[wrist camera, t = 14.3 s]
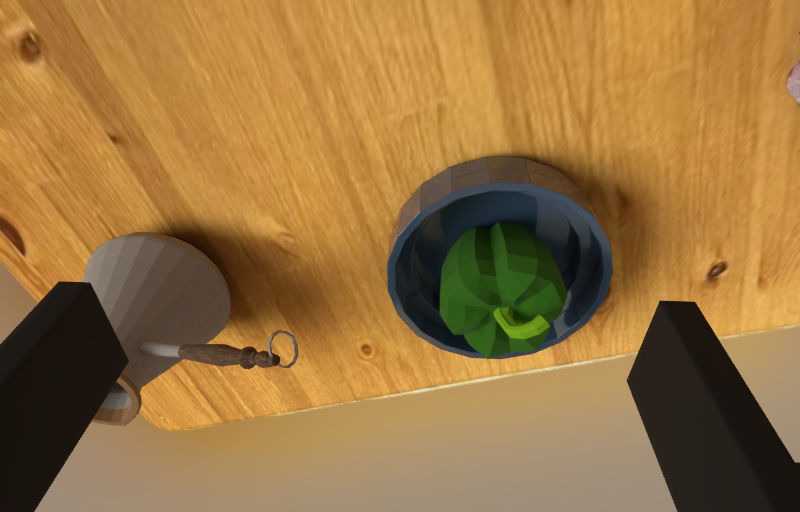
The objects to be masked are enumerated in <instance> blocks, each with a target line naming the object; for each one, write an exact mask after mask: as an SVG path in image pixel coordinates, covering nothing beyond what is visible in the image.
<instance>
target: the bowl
mask: <svg viewBox="0 0 800 512" xmlns="http://www.w3.org/2000/svg"><path fill="white" fill-rule="evenodd" d="M497 222H502V223H519V224H521V225H522V226H524V227H525V228H527V229H528V230H530V231H531V232H533V233H534V234H535V235H536V236H537V237H538V238H539V239H540V240H541V241H542V242H543V243H544V244H545V246H546V247H547V248H548V249H549V250H550V252H551V254H552V256H553V259H554V261H555V263H556V265H557V267H558V269H559V271H560V274H561V276H562V279H563V281H564V284H565V287H566V290H567V293H568V295H567V298H566V301H565V304H564V307H563V309H562V311H561V313H560V315H559V317H558V319H556V320H554V321H552V322H551V327H550V331H549V334H548V335H547V337H546V338H545V339H544V341H543V342H542V344H541V345H540V346H539V348H538V349H537V351H524V352H511V353H507V354H503V355H500V356H496V357H493V358H489V359H501V358H502V359H505V358H511V357H517V356H523V355H529V354H532V353H533V354H534V353H536V352H538V351H541V350H543V349H546V348H548V347H551V346H553V345H555V344H558V343H560V342H563V341H564V340H565V339H567V338H568V337H569V336H571V335H572V334H573V333H575V332H576V331H577V330H579V329H580V328H582V327H583V326H584V325H586V324H587V323H588V321H589V320H590V319H591V317H592V316H593V315H594V313H595V312H596V311H597V309H598V308H599V307H600V305H601V304H602V303H603V301H604V299H605V297H606V294H607V291H608V288H609V284H610V281H611V278H612V275H613V263H612V254H611V244H610V241H609V239H608V237H607V235H606V233H605V231H604V229H603V228H602V225H601V223H600V221H599V220H598V218H597V216H596V214H595V212H594V210H593V208H592V207H591V205H590V203H589V201H588V200H587V198H586V196H585V194H584V193H583V191H582V189H581V188H580V187H578V186H577V185H576V184H575V183H573V182H572V181H571V180H569V179H568V178H567V177H566V176H564V175H563V174H562V173H561V172H559V171H558V170H557V169H555V168H552V167H549V166H546V165H543V164H540V163H537V162H534V161H531V160H528V159H526V158H517V157H484V158H480V159H476V160H473V161H469V162H465V163H461V164H457V165H454V166H452V167H449V168H447V169H446V170H444V171H442V172H441V173H439V174H437V175H436V176H434V177H432V178H431V179H429V180H428V181H426V182H424V183H423V184H422V185H421V186H420V187H419V188H418V189H417V190H416V191H415V193H414V194H413V195H412V196H411V197H410V198H409V200H408V201H407V202H406V203H405V204H404V205H403V206H402V208H401V210H400V213H399V215H398V218H397V221H396V223H395V226H394V229H393V231H392V235H391V241H390V248H389V255H388V262H387V282H388V292H389V295H390V297H391V299H392V302H393V304H394V306H395V309H396V311H397V313H398V315H399V316H400V318H401V319H402V320H403V321H404V322H405V323H406V324H407V325H408V326H409V327H410V328H411V329H412V330H413V332H414V333H415V334H416V335H417V336H419V337H421V338H423V339H424V340H426V341H428V342H429V343H431V344H433V345H435V346H436V347H438V348H440V349H442V350H445V351H449V352H452V353H456V354H459V355H463V356H467V357H471V358H485V357H484V356H483V355H482V354H480V353H479V352H478V351H477V350H475V349H474V348H473V347H472V346H470V345H469V343H468V342H467V340H466V339H465V337H464V334H461V335H453V333H452V332H451V331H450V329H449V328H448V327H447V325H446V323H445V322H444V320H443V318H442V317H441V315H440V289H441V271H442V266H443V264H444V261H445V259H446V256H447V254H448V252H449V250H450V249H451V247H452V245H453V244H454V243H455V242H456V241H457V240H458V238H459V237H460V236H461V235H462V234H463V233H464V232H465V231H467V230H469V229H472V228H475V227H478V226H479V227H483V228H487V229H490V228H491V227H493V226H494V225H495V224H496V223H497Z"/></svg>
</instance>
